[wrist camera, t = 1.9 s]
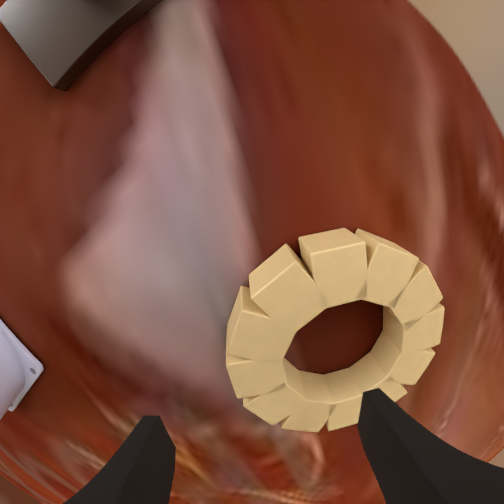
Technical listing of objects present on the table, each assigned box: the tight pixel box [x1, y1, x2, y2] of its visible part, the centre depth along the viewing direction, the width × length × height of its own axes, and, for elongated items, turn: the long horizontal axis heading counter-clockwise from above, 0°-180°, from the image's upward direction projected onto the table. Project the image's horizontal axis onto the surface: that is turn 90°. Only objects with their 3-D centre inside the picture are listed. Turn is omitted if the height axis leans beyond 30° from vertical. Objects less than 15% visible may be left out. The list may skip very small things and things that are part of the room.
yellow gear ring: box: [226, 228, 445, 432], centre depth 13 cm, size 10×10×2 cm
